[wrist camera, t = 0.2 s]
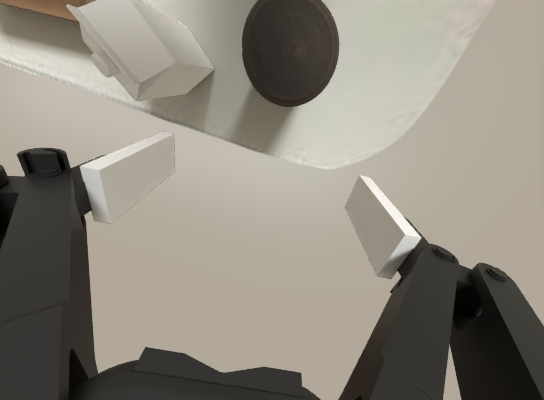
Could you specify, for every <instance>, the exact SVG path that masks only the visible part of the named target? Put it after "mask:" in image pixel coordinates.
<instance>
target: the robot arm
mask: <svg viewBox="0 0 544 400" xmlns="http://www.w3.org/2000/svg"><path fill="white" fill-rule="evenodd" d="M17 156H18V159H19V161H20V163H21V166H22V168H23V171H24V173H25V177H20V176H7V174H6V172H5V170H4V168H3V166H2V165H0V400H320V399H319V398H318V397H317V396H316V395H315V394H313V393H311V392H310V391H309V390H308V389H306V388H304V387H302V379H301V373H298V372H293V371H287V370H281V369H275V368H268V367H259V368H254V369H247V370H240V371H234V372H227V373H222V372H219V371H217V370H215V369H213V368H211V367H209V366H207V365H205V364H203V363H202V362H200V361H198V360H196V359H194V358H192V357H190V356H188V355H186V354H184V353H177V352H172V351H166V350H160V349H154V348H148V347H145V349H144V351H143V353H142V354H141V356H140V358H139V360H135V361H130V362H126V363H123V364H119V365H117V366H114V367H112V368H109V369H107V370H105V371H103V372H101V373H99V374H98V371H97V366H96V361H95V353H94V338H93V323H92V308H91V293H90V277H89V262H88V246H87V231H86V220H85V217H84V215H85V214H86V213H88V212H89V211H92V215H93V219H94V221H98V222H103V223H108V224H112V223H113V222H114V221H115V220H116V219H117V218H119V217H120V216H121V215H122V214H124V213H125V212H126V211H127V210H128V209H130V208H131V207H132V206H133V205H135V204H136V203H137V202H138V201H139V200H141V199H142V198H143V197H144V196H145V195H147V194H148V193H149V192H150V191H151V190H153V189H154V188H155V187H156V186H157V185H159V184H160V183H161V182H162V181H164V180H165V179H166V178H167V177H168V176H170V175H171V174H172V173H173V172H174V171H175V144H174V134H173V133H169V132H164V131H162V132H160V133H158V134H155V135H153V136H150V137H148V138H146V139H143V140H141V141H138V142H136V143H134V144H131V145H129V146H127V147H124V148H122V149H119V150H117V151H115V152H112V153H110V154H107V155H102V156H100V157H97V158H95V160H94V159H92V160H90V161H88V162H85V163H83V164H80V165H78V166H76V167H73V168H70V165H69V161H68V158H67V155H66V152H65V151H63V150H60V149H55V148H34V149H28V150H24V151H21V152H19V153H18V154H17ZM345 209H346V211H347V213H348V216H349V217H350V220H351V222H352V224H353V226H354V228H355V231H356V233H357V235H358V237H359V239H360V241H361V243H362V246H363V248H364V250H365V252H366V254H367V256H368V258H369V261H370V262H371V265H372V267H373V269H374V271H375V273H376V276H378V277H383V278H388V279H392V277H393V276H394V275H395V273H396V272H397V271H398V272H399V274H400V275H401V278H400V280H399V281H398V282H397V284H396V285H395V286H394V287H393V289H392V290H391V292H390V293H392V294H391V296H390V298H389V300H388V302H387V304H386V306H385V308H384V310H383V312H382V314H381V316H380V318H379V320H378V322H377V324H376V326H375V328H374V330H373V332H372V334H371V336H370V338H369V340H368V342H367V344H366V346H365V348H364V350H363V352H362V354H361V356H360V358H359V360H358V362H357V364H356V366H355V368H354V370H353V372H352V374H351V376H350V378H349V380H348V382H347V385H346V386H345V388H344V390H343V392H342V394H341V396H340V398H339V399H338V400H443V394H444V384H445V377H446V376H445V375H446V368H447V360H448V350H449V343H450V348H451V352H452V357H453V361H454V366H455V371H456V376H457V381H458V385H459V389H460V395H461V399H462V400H544V326H543V324H542V323H541V321H540V320H539V318H538V317H537V315H536V314H535V312H534V311H533V309H532V308H531V306H530V305H529V303H528V302H527V300H526V299H525V297H524V296H523V294H522V293H521V291H520V290H519V288H518V287H517V285H516V283H515V282H514V281H513V280H512V279H511V278H510V277H509V276H507V275H506V273H505V272H503V271H501V270H499V269H498V268H494V267H493V266H491V265H488V264H485V263H478V264H477V265H476V266H475V267H474V268H473V269H469V268H466V267H464V266H461V265H459V262H458V260H457V258H456V257H455V256H454V255H453V254H451V253H450V252H449V251H447V250H445V249H444V248H442V247H440V246H437V245H434V244H429V243H428V242H427V241H426V239H425V238H424V237H423V236H422V235H421V234H420V233H419V232H418V231H417V229H416V228H415V227H413V225H412V223H411V222H410V221H409V220H408V219H406V218H405V217H404V216H402V215H401V213H400V212H399V211H398V210H397V209H396V208H395V206H394V205H393V204H392V203H391V202H390V201H389V200H388V199H387V197H386V196H385V195H384V194H383V193H382V192H381V190H380V189H379V188H378V187H377V186H376V184H375V183H374V182H373V181H372V180H371V179H370V177H365V176H361V175H359V177H358V179H357V181H356V184H355V186H354V188H353V190H352V192H351V194H350V197H349V199H348V201H347V203H346V205H345Z"/></svg>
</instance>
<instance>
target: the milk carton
mask: <svg viewBox="0 0 544 400" xmlns="http://www.w3.org/2000/svg"><path fill="white" fill-rule="evenodd" d="M66 6H67V8H68V9H69V10H70V12H71V13H72V14H73V15H74V16H75V17H76V19H77V20H78V21H79V24H80V29H81V34H82V39H83V41H84V42H85V44H86V45H87V46H88V47H89V48H90V49H91V51H92V52H93V53H94V54H92V55H91V56H92V60H93V62H94V64H95V65H96V67H97V68H98V69H99V70H100V71H101V73H102V74H103V75H105V76H106V77H108V78H109V77H112V76H114V77H115V78H116V79H117V80H118V81H119V83H120V84H121V85H122V86H123V87H124V88H125V89H126V91H127V92H128V93H129V94H130V95H131V96H132V97H133V98H134V100H135V101H143V100H150V99H157V98H164V97H171V96H178V95H185V94H187V93H188V92H189V91H190V90H192V89H193V88H194V87H195V86H196V85H197V84H198V83H200V82H201V81H202V80H203V79H204V78H205V77H206V76H208V75H209V74H210V73H211V72H212V71H213V70H214V69H215V68H214V66H213V65H212V63H211V62H210V60H209V59H208V57H207V56H206V55H205V53H204V52H203V50H202V49H201V47H200V46H199V44H198V43H197V41H196V40H195V38H194V37H193V35H192V34H191V32H190V31H189V29H188V28H187V27H186V26H185V25H184V24H182V23H180V22H178V21H176V20H175V19H173V18H171V17H169V16H167V15H166V14H164V13H162V12H160V11H158V10H156V9H155V8H153V7H151V6H149V5H147V4H146V3H144V2H142V1H140V0H96V1H94V2H91V3H89V4H86V5H83V6H81V7H78V8H77V7H74V6H71V5H68V4H67V5H66Z"/></svg>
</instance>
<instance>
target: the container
mask: <svg viewBox="0 0 544 400" xmlns="http://www.w3.org/2000/svg"><path fill="white" fill-rule="evenodd" d="M242 48H243V51H242V55H243V62H244V66H245V69H246V72H247V75H248V77H249V79H250V81H251V83H252V85H253V86H254V88H255V89H256V90H257V91H258V92H259V93H260V94H261V95H262V96H263V97H264V98H265V99H267V100H268V101H270V102H272V103H274V104H276V105H280V106H285V107H293V106H299V105H302V104H305V103H307V102H309V101H311V100H312V99H314V98H315V97H316V96H318V95H319V94H320V93H321V92H322V91H323V90H324V88H325V87H326V86H327V84H328V83H329V81H330V79H331V78H332V75H333V73H334V71H335V68H336V65H337V61H338V55H339V37H338V31H337V27H336V24H335V21H334V19H333V17H332V15H331V13H330V11H329V9H328V8H327V7H326V5H325V4H324V3H323V2H322V1H321V0H258V1H257V2H256V4H255V5H254V6H253V8H252V9H251V11H250V13H249V15H248V17H247V20H246V23H245V26H244V30H243V36H242Z"/></svg>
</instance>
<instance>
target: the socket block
mask: <svg viewBox="0 0 544 400" xmlns="http://www.w3.org/2000/svg"><path fill="white" fill-rule="evenodd" d="M94 1H96V0H0V3H1V4H5V5H9V6H13V7H17V8H21V9H26V10H30V11H34V12H38V13H42V14H46V15H50V16H55V17H59V18H63V19H67V20H71V21H75V22H79V21H78V20H77V19H76V17H75V16H74V15H73V14H72V13H71V12H70V10H69V9H68V8H67V6H66V5H67V4H68V5H71V6H74V7H77V8H78V7H81V6H83V5H86V4H89V3H91V2H94Z"/></svg>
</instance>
